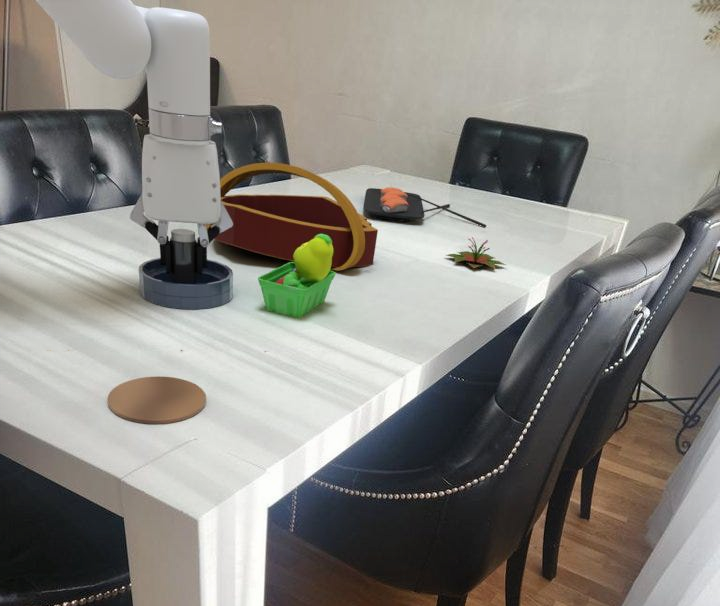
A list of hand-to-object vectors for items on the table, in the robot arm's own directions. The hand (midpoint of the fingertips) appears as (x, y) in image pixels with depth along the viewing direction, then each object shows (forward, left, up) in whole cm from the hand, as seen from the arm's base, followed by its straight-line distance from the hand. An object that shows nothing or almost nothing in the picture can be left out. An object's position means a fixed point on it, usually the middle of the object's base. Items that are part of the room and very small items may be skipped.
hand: (184, 270), depth 93 cm
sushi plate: (+59, +65, -4) cm, 88 cm away
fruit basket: (+16, -4, -4) cm, 17 cm away
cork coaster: (-4, -32, -4) cm, 32 cm away
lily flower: (+56, +24, -4) cm, 61 cm away
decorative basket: (+18, +26, -4) cm, 32 cm away
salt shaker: (0, 0, -3) cm, 3 cm away
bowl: (0, 0, -4) cm, 4 cm away
